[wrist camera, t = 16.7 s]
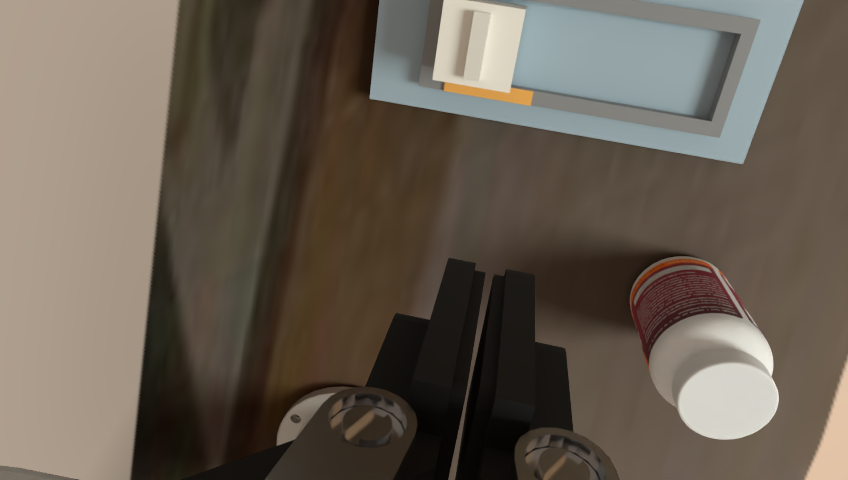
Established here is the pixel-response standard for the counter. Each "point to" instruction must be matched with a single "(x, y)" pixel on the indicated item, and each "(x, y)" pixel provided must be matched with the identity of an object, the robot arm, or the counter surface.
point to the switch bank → (608, 69)
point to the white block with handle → (478, 43)
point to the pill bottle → (703, 348)
